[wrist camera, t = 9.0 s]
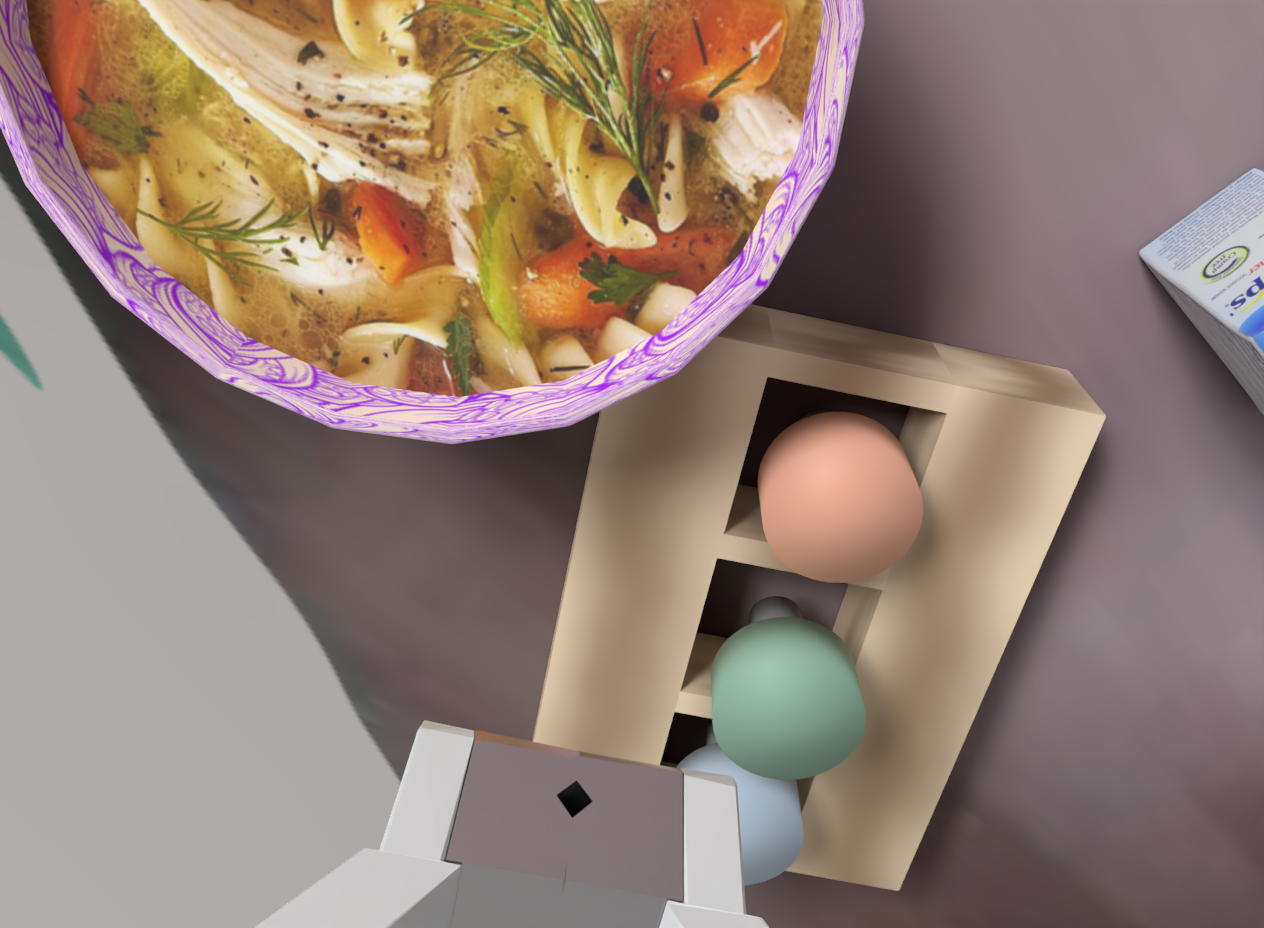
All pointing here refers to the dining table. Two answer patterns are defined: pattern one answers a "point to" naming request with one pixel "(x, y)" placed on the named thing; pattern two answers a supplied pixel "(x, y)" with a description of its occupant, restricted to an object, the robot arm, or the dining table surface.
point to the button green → (785, 695)
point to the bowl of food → (430, 187)
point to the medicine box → (1221, 276)
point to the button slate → (757, 812)
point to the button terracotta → (838, 497)
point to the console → (733, 530)
